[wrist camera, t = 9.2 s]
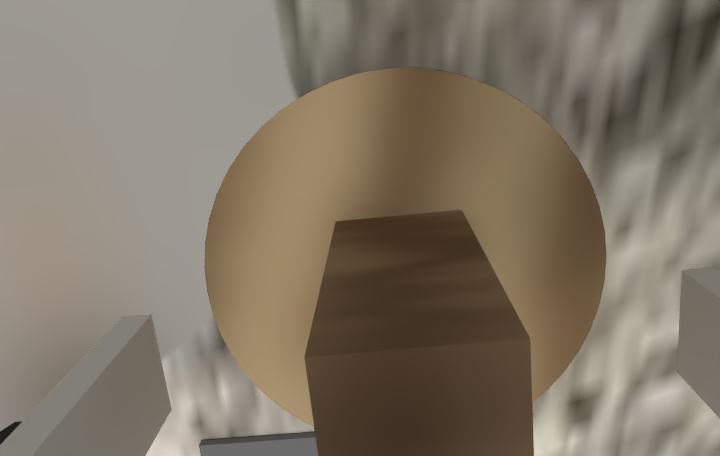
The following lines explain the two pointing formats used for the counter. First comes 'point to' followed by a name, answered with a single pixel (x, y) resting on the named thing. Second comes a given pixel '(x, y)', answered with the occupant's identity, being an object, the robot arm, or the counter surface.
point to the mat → (262, 445)
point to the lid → (406, 264)
